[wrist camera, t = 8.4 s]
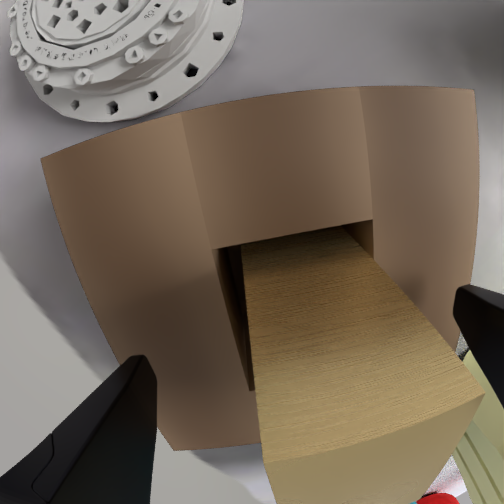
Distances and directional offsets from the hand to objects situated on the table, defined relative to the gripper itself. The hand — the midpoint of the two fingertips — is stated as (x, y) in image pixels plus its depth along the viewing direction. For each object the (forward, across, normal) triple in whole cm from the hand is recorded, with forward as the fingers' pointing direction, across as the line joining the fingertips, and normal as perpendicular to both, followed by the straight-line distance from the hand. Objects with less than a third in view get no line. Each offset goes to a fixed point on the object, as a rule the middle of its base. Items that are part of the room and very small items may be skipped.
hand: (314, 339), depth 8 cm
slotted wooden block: (+7, 0, 0) cm, 7 cm away
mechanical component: (+8, +4, -12) cm, 15 cm away
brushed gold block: (+6, 0, 0) cm, 6 cm away
